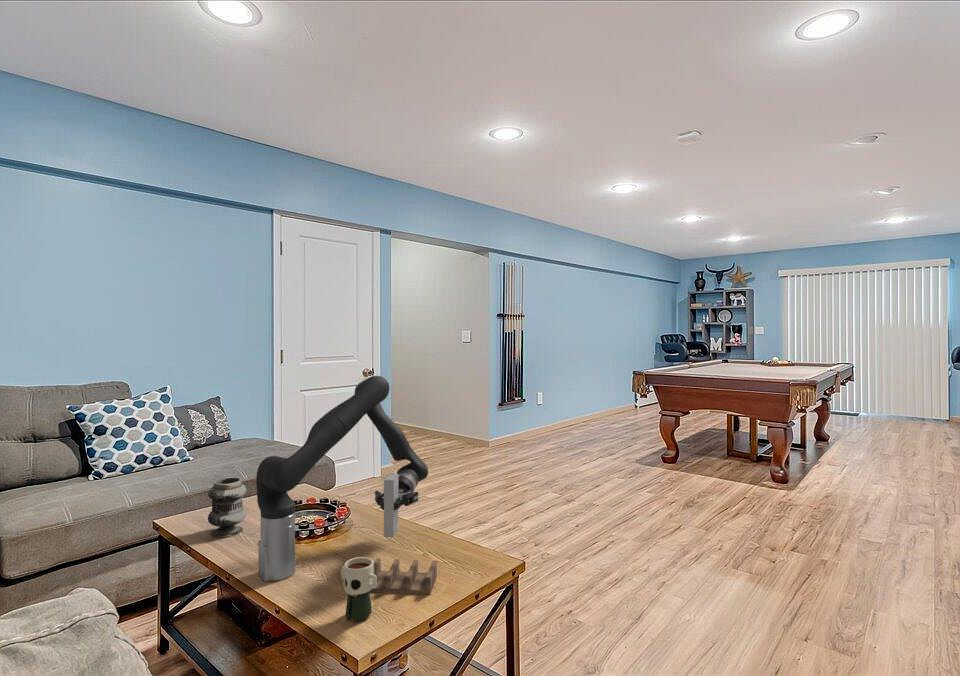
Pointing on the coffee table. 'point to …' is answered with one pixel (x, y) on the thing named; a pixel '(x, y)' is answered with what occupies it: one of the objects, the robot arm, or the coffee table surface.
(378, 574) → the drying rack
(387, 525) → the clay strip
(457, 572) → the coffee table surface
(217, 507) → the grey stone urn vase
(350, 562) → the character mug
